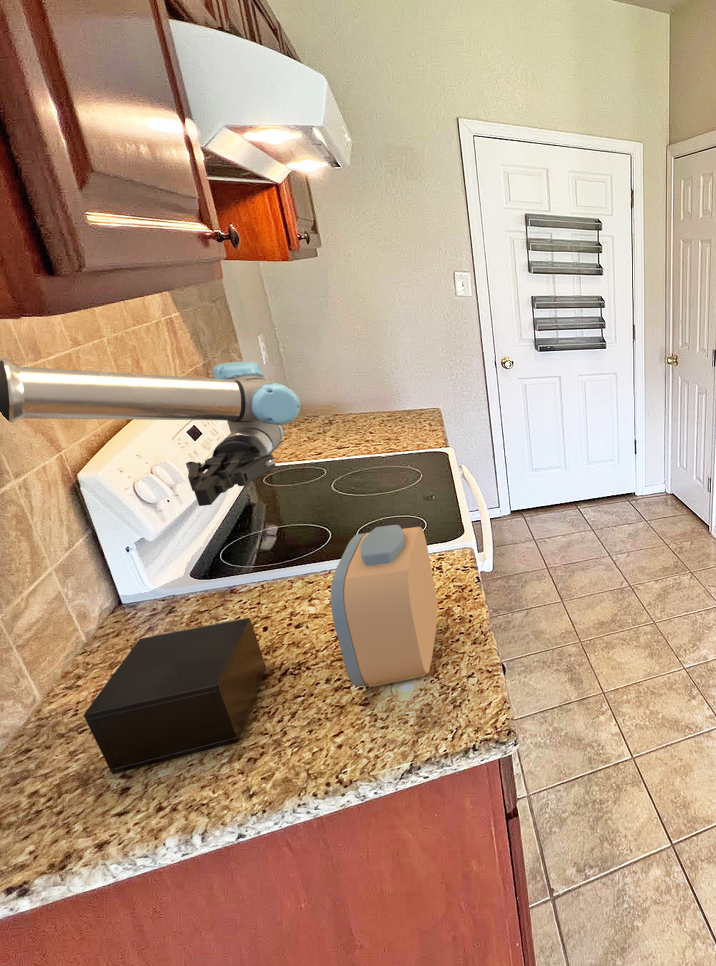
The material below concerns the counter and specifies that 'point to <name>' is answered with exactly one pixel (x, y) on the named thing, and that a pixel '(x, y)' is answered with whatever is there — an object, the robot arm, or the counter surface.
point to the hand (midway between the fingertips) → (202, 497)
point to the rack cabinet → (178, 695)
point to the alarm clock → (385, 606)
